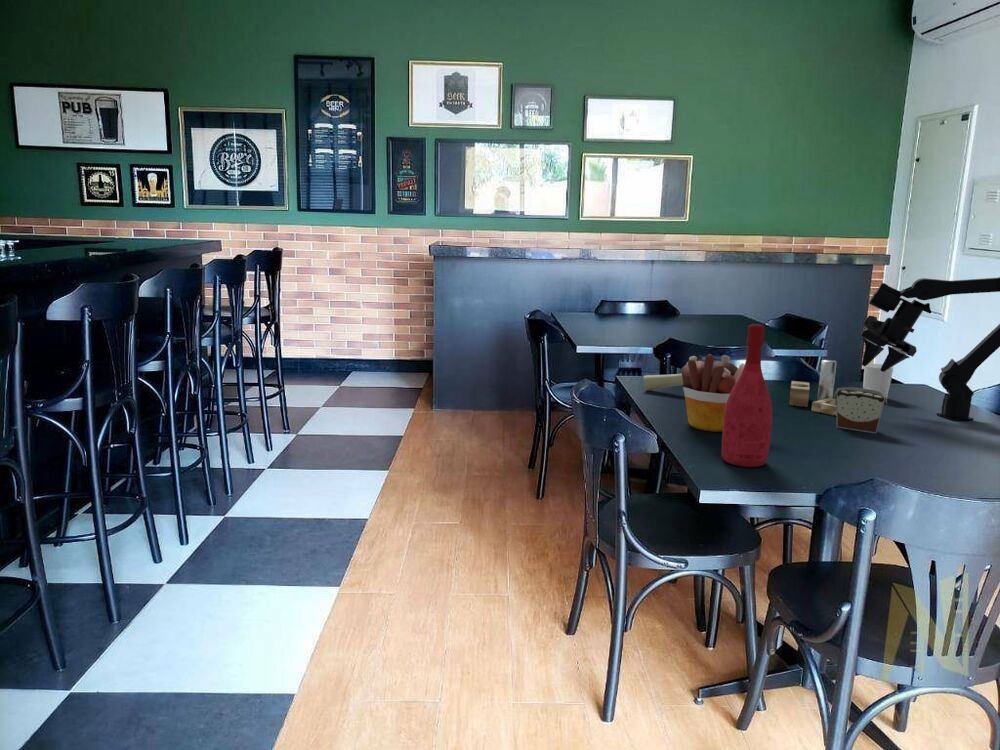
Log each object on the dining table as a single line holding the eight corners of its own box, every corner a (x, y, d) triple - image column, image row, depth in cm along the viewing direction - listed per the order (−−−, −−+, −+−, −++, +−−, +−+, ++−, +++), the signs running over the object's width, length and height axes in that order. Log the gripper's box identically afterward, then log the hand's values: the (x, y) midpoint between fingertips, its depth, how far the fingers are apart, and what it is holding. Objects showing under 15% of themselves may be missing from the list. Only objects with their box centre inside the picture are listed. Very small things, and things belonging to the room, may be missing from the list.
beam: (789, 396, 225) (791, 380, 224) (807, 398, 223) (809, 382, 222) (789, 405, 214) (790, 387, 213) (807, 407, 212) (809, 389, 211)
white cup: (882, 395, 231) (886, 364, 229) (893, 401, 223) (897, 368, 221) (856, 394, 231) (860, 363, 229) (866, 399, 224) (870, 367, 222)
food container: (886, 429, 189) (891, 391, 187) (882, 434, 184) (888, 395, 182) (834, 421, 196) (839, 385, 194) (830, 426, 191) (834, 388, 189)
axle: (834, 406, 214) (839, 362, 212) (821, 406, 214) (826, 362, 211) (826, 402, 218) (831, 359, 215) (814, 402, 217) (818, 359, 215)
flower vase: (653, 412, 232) (769, 402, 216) (641, 408, 221) (762, 397, 205) (650, 375, 234) (765, 362, 218) (638, 370, 223) (758, 355, 207)
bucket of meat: (689, 414, 200) (695, 342, 196) (752, 423, 191) (759, 348, 188) (666, 430, 183) (672, 351, 179) (734, 441, 174) (742, 358, 171)
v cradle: (833, 406, 214) (834, 398, 213) (850, 418, 200) (851, 409, 200) (804, 404, 214) (805, 396, 214) (819, 416, 201) (820, 407, 200)
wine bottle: (757, 455, 164) (770, 321, 158) (775, 469, 154) (789, 327, 148) (714, 454, 164) (725, 320, 158) (729, 468, 154) (742, 326, 148)
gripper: (898, 315, 216) (869, 361, 221) (861, 301, 207) (832, 349, 212) (930, 331, 207) (899, 379, 213) (893, 318, 198) (861, 367, 203)
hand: (872, 368), depth 210 cm, fingers open, 9 cm apart
